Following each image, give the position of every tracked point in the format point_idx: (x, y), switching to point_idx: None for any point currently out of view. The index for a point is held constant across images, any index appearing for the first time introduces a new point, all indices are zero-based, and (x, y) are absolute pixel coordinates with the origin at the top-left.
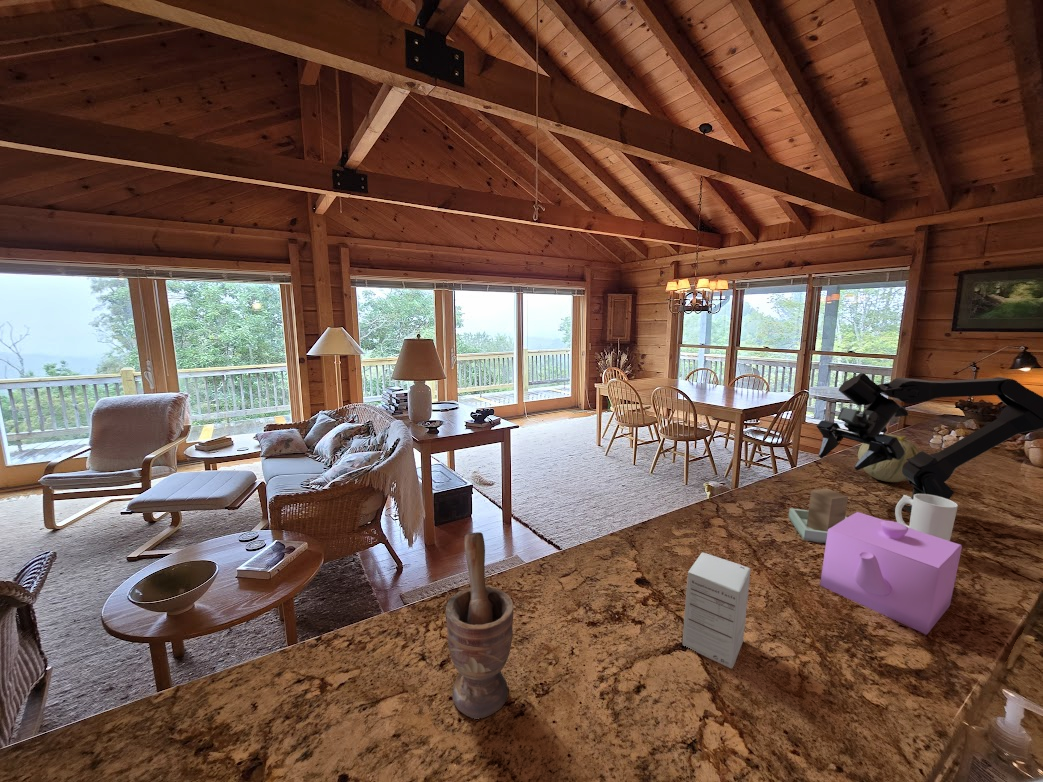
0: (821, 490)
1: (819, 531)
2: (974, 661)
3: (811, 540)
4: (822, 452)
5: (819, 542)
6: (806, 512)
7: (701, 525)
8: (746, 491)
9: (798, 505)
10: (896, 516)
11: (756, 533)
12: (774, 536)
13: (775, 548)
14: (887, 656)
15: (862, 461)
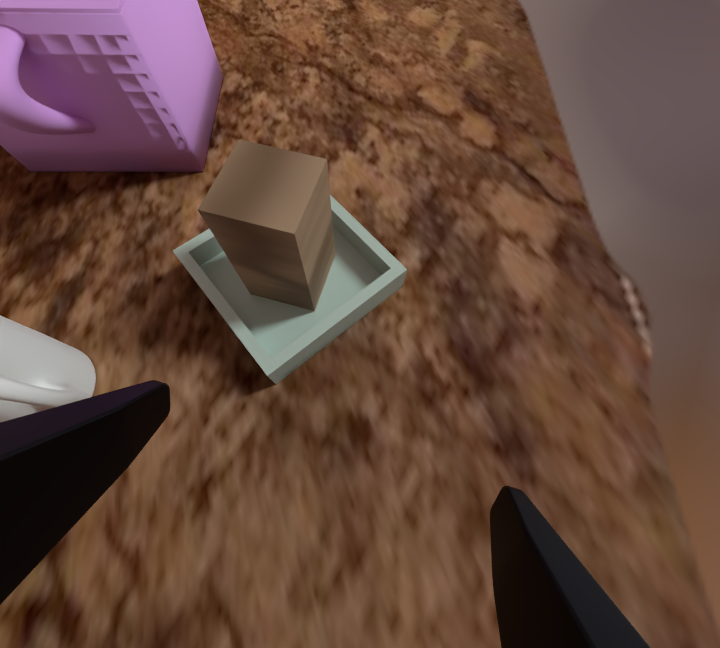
0: (300, 189)
1: None
2: None
3: None
4: (518, 524)
5: None
6: (361, 291)
7: (479, 93)
8: (617, 374)
9: (441, 417)
10: (68, 391)
11: (392, 145)
12: (361, 162)
13: (331, 122)
14: None
15: (60, 407)
